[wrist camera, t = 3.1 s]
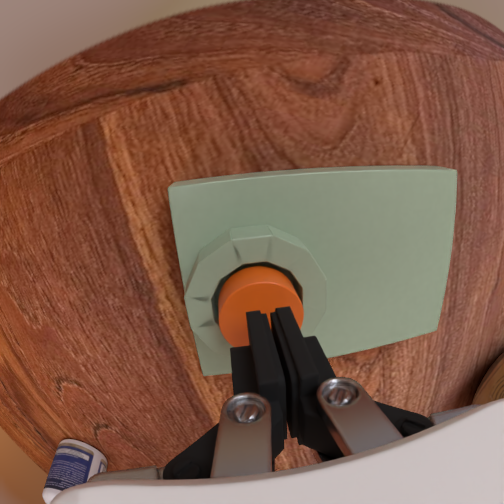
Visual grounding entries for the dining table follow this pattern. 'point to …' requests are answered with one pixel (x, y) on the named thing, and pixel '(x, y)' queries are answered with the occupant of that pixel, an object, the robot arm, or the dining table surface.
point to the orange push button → (254, 300)
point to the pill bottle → (72, 467)
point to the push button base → (320, 249)
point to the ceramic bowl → (491, 383)
